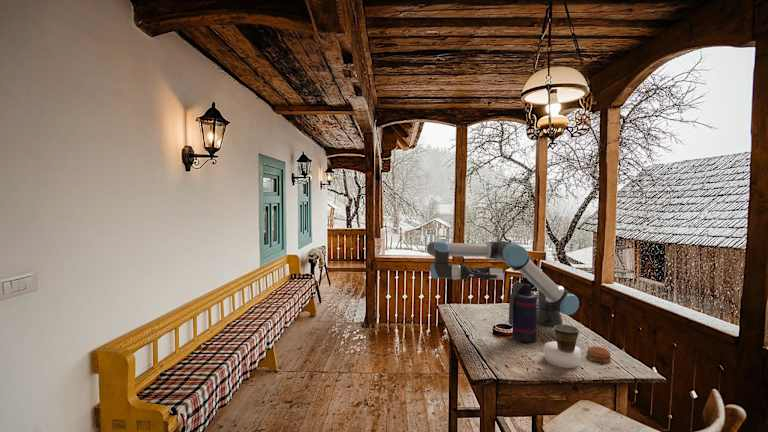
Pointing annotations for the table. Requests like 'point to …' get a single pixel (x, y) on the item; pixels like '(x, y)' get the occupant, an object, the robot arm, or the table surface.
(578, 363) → the plinth
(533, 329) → the grenade
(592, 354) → the burger
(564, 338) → the ceramic cup
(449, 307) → the table surface
